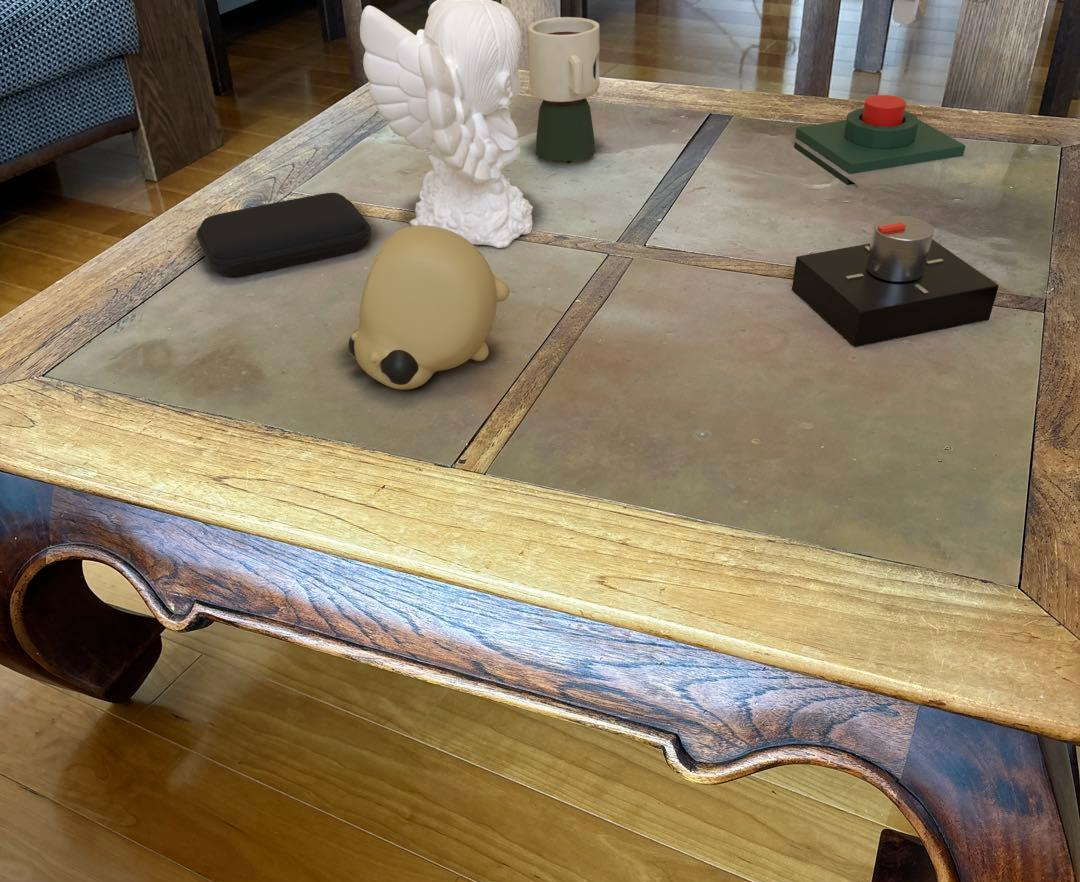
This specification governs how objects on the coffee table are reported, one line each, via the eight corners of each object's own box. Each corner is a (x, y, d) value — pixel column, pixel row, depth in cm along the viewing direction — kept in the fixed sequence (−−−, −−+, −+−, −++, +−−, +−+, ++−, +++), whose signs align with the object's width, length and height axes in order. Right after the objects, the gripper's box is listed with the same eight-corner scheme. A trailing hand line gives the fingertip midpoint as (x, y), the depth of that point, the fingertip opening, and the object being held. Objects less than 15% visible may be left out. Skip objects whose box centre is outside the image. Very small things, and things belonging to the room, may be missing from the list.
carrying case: (346, 210, 100) (194, 240, 96) (341, 179, 98) (186, 209, 94) (379, 252, 93) (216, 287, 88) (374, 220, 91) (208, 254, 86)
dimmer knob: (903, 253, 83) (913, 208, 80) (935, 277, 80) (946, 230, 77) (855, 262, 82) (864, 216, 79) (885, 286, 79) (895, 239, 76)
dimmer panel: (917, 266, 88) (925, 231, 86) (989, 320, 80) (1000, 283, 78) (791, 289, 85) (796, 254, 83) (854, 347, 78) (861, 310, 76)
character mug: (612, 172, 105) (615, 36, 97) (546, 181, 104) (542, 44, 96) (583, 137, 114) (583, 8, 105) (521, 144, 112) (515, 15, 104)
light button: (888, 113, 106) (892, 92, 105) (910, 125, 103) (914, 104, 102) (853, 118, 105) (857, 97, 104) (874, 131, 102) (878, 110, 101)
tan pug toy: (404, 379, 83) (296, 329, 75) (478, 247, 81) (375, 182, 73) (466, 431, 77) (355, 383, 69) (548, 290, 74) (443, 223, 67)
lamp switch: (900, 131, 112) (907, 93, 109) (960, 167, 104) (970, 127, 101) (793, 148, 109) (798, 109, 107) (847, 185, 101) (854, 145, 99)
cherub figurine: (565, 238, 94) (562, -2, 81) (445, 274, 89) (421, 26, 76) (494, 192, 102) (481, -32, 89) (381, 223, 98) (349, -9, 85)
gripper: (935, -183, 67) (893, 44, 76) (1108, -210, 76) (1051, -4, 85) (858, -191, 70) (826, 27, 79) (1031, -215, 79) (985, -17, 89)
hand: (944, 11), depth 82 cm, fingers open, 8 cm apart
